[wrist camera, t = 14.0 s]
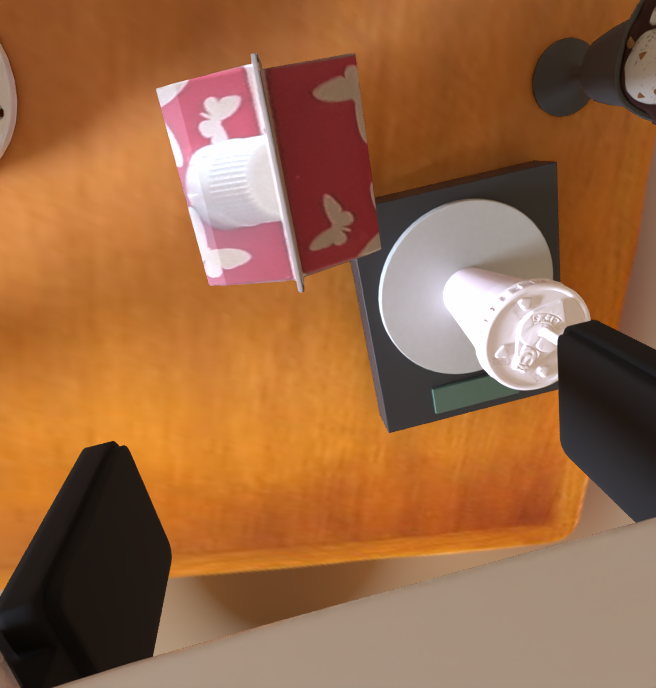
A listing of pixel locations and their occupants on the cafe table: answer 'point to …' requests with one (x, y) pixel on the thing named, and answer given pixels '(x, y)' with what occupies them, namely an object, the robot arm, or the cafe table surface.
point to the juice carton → (274, 168)
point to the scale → (430, 280)
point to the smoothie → (514, 323)
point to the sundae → (603, 69)
